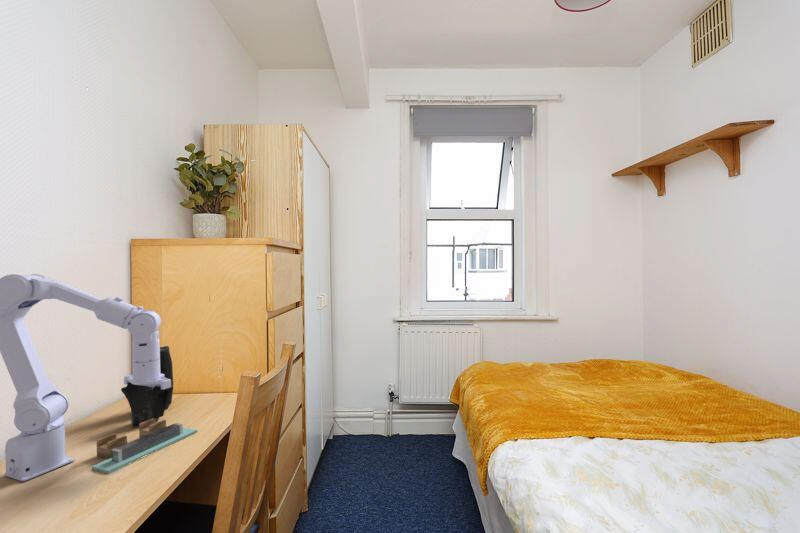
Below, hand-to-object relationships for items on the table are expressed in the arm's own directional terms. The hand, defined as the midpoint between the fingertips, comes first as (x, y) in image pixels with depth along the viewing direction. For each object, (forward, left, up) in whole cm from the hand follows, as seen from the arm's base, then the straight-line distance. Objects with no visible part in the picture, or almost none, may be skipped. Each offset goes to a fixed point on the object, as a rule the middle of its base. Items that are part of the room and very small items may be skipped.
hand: (148, 415), depth 95 cm
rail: (0, 0, -8) cm, 8 cm away
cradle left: (-5, +6, -8) cm, 11 cm away
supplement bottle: (+11, +18, -9) cm, 23 cm away
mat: (0, 0, -8) cm, 8 cm away
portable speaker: (+20, +26, -9) cm, 34 cm away
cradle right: (+5, +6, -8) cm, 11 cm away
